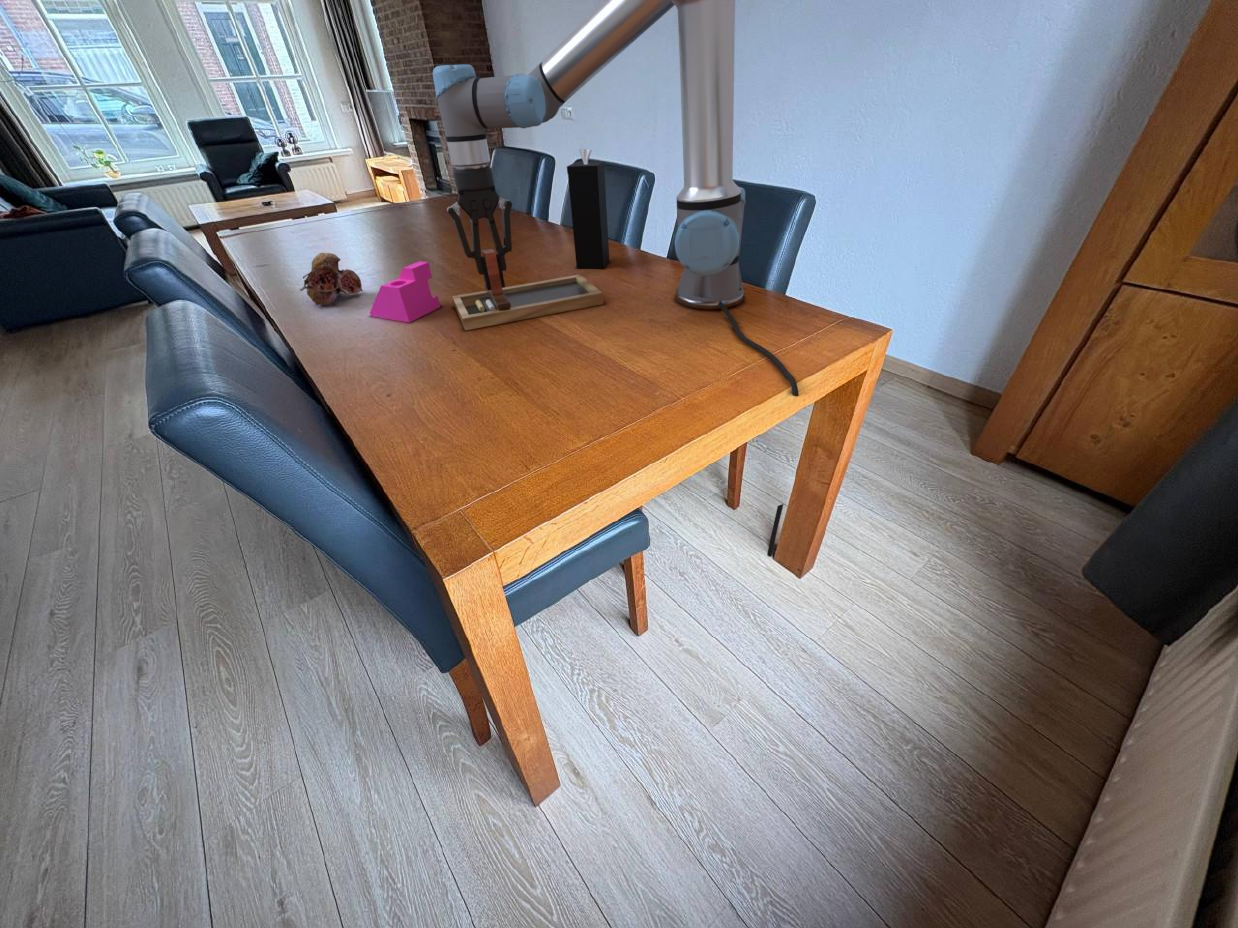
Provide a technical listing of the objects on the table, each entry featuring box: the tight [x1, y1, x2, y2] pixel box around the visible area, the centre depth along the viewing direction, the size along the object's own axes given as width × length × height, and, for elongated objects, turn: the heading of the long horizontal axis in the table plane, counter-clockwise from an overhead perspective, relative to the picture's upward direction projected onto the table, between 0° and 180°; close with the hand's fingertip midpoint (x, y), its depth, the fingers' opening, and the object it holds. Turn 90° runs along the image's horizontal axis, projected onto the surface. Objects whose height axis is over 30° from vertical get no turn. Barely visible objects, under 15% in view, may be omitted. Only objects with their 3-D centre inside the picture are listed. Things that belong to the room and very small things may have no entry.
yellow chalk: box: [475, 300, 485, 312], centre depth 113 cm, size 5×1×1 cm
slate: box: [451, 274, 604, 331], centre depth 115 cm, size 16×32×3 cm, turn 113°
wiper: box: [481, 248, 511, 310], centre depth 110 cm, size 15×3×11 cm, turn 23°
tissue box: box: [566, 148, 610, 269], centre depth 131 cm, size 8×8×28 cm
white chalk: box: [486, 299, 496, 311], centre depth 111 cm, size 5×1×1 cm
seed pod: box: [299, 252, 364, 306], centre depth 122 cm, size 13×16×15 cm
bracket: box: [369, 261, 441, 324], centre depth 113 cm, size 12×10×10 cm
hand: (495, 287), depth 111 cm, fingers closed on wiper, 2 cm apart
